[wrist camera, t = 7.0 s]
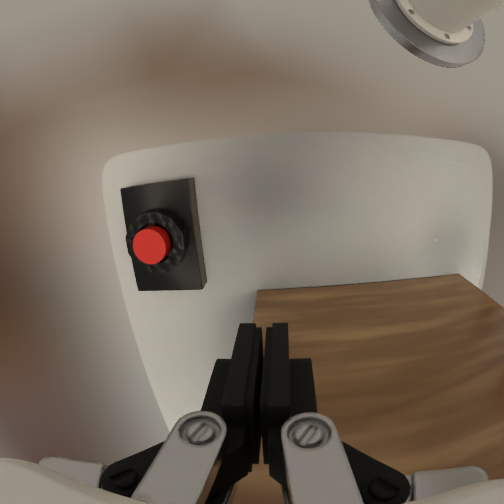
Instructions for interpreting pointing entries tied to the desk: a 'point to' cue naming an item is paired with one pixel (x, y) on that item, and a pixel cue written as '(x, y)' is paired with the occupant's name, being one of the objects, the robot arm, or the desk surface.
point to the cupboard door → (397, 372)
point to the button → (152, 244)
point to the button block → (175, 224)
